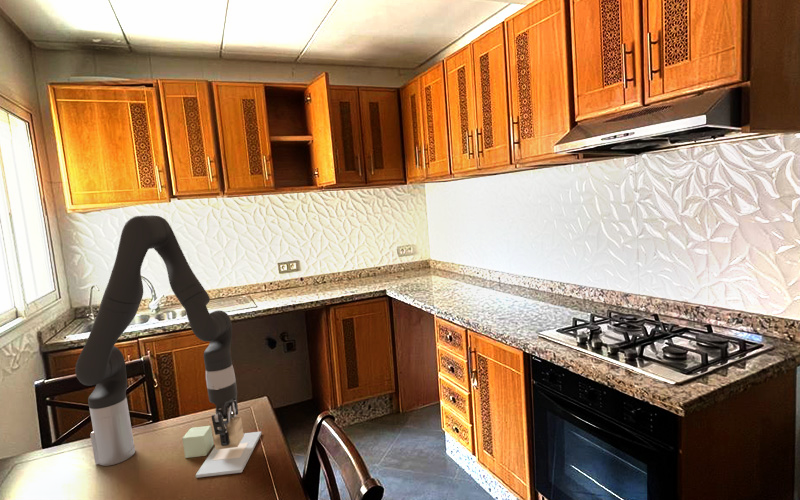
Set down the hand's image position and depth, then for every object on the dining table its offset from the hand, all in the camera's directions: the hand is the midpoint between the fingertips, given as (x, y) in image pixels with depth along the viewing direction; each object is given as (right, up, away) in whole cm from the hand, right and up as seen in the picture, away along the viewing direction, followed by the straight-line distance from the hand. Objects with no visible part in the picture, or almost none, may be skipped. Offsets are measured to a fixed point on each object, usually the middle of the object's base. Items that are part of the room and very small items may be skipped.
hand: (229, 438), depth 127 cm
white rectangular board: (0, -5, 0) cm, 5 cm away
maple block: (0, -1, 0) cm, 1 cm away
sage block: (-10, -5, +4) cm, 12 cm away
